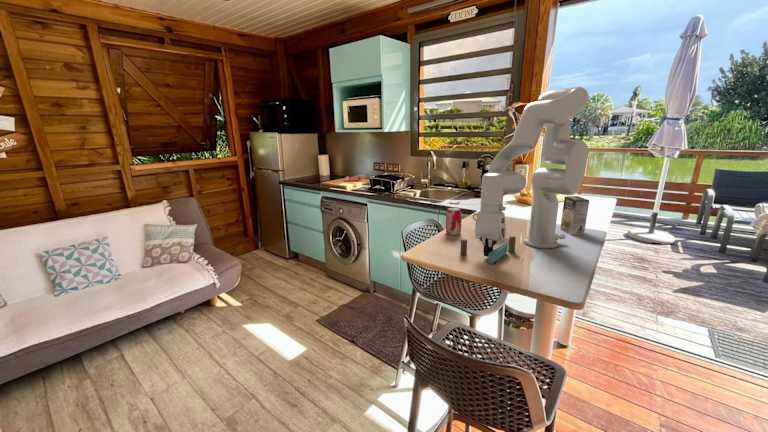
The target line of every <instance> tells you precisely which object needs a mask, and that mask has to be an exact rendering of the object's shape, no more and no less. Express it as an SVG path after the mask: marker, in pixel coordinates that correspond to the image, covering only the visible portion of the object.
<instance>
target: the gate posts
mask: <svg viewBox="0 0 768 432" xmlns="http://www.w3.org/2000/svg"><path fill="white" fill-rule="evenodd" d="M516 239H517V237H516V236H514V235H509V236H508V248H507V253H512V254H513V253H515V252H516V251H515V250H516ZM459 254H460V255H461V256H463V257H466V256H467V255H468V239H466V238H462V239H460V253H459Z"/></svg>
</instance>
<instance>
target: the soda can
mask: <svg viewBox="0 0 768 432" xmlns="http://www.w3.org/2000/svg"><path fill="white" fill-rule="evenodd" d="M445 213H446V214H445V218H446V219H445V232H446V233H447V234H448V235H451V236H457V235H459V234H460V233H461V231H462V210H461V208H459V207H454V206H452V207H448V208H447V210H446V212H445Z"/></svg>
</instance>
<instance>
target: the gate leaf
mask: <svg viewBox="0 0 768 432" xmlns="http://www.w3.org/2000/svg"><path fill="white" fill-rule="evenodd" d="M508 245H509V243H508V242H507V241H503V243H502V244H499V245H498V246H497V247H496V248H493V251H491V252H490V253H489V255H488V257H487V263H488V264H494V263H495V262H496V261H498V260H499V259H500V258H501V257H503V256H504V255H506V254H507V253H508Z"/></svg>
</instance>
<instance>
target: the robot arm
mask: <svg viewBox="0 0 768 432" xmlns="http://www.w3.org/2000/svg"><path fill="white" fill-rule="evenodd" d="M588 92H589V91H587V89H586V88H585V87H582V86H577V87H576V86H575V87H574V86H573V87H568V88H562V89H561V88H559V89H553V90H549V91H546V92H543V93H542V94H541V95H539V97H538V98H537V101H533V102H530V103H528V104H527V105H526V106H525V107H524V108H523V110H522V113H521V116H520V118H519V120H518V124H517V126H516V128H515V130H514V133H513V136H512V138H511V140H510V142H508V144H506V145H505V146H504V147H503V148H501V150H500V151H499V152H498V153H497V154H496V155H495V156H494V158H493V160H492V161H491V163H490V164H489V165H490V166H489V168H488V171H487V172H486V173H484V174H483V175H482V177H481V185H480V186H481V188H480V189H481V190H480V207H479V210H478V211H477V214H478V215H476V218H475V219H476V220H475V225H474V226H475V227H474V234H475V238H476V239H478V240H479V241H480V242H481V244H482V246H483V256H484V257H487V258H488V255H489V253H490V252H491V251H493V250H494V246H495V245H501V244H503V243H504V239H505V237H506V233H507V232H506V230H507V227H506V216H505V214H506V213H505V212H504V211H506V210H507V207H506V206H504V203H503V202H504V194H517V193H520V192H522V191H523V190H524V189H525V187H526V184H527V179H526V177H525V176H524V175H523V174H522V173H520V172H517V171H510V170H506V168H507V167H508V165H509V164H510V163H511V162H512V161H514V160H515V159H516V158H518V157H520V156H523V155H525V154H528V153H530V152H532V151H534V150H535V148H536V147H537V144H538V142H539V139H540V136H541V134H542V132H543V129H544V127H545V134H544V139H543V143H542V149H541V152H540V153H541V155H540V158H541V159H540V160H542V163H545V164H547V165H555V166H564V168H557V167H540V168H538V169H536V170H535V171H534V172H533V173H532V175H531V189H532V196H531V210H530V219H529V229H528V230H529V231H528V236H527V237H525V238H524V239H523V242H524V244H526V245H527V246H530V247H533V248H537V249H543V250H544V249H549V250H550V249H555V248H557V247H558V246H559V242H558V241H559V240H565V239H566V235H565V234H559V233H556V226H557V219H558V218H557V217H558V211H559V210H558V209H559V199H558V197H557V195H562V196H574V195H575V194H577V193H578V191H579V190H580V188H581V185H582V183H583V179H584V176H585V175H584V174H585V170H586V167H587V162H588V157H589V146H588V144H587V143H586V141H584V140H583V139H582V140H581V139H571V133H572V122H571V120H570V119H572V118H574V117H575V116H576V115H578V114H579V113H581V112H582V111H583V110H584V109H585V107H586V106H587V104H588V102H589V97H590V95H589V93H588ZM556 194H557V195H556Z"/></svg>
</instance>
